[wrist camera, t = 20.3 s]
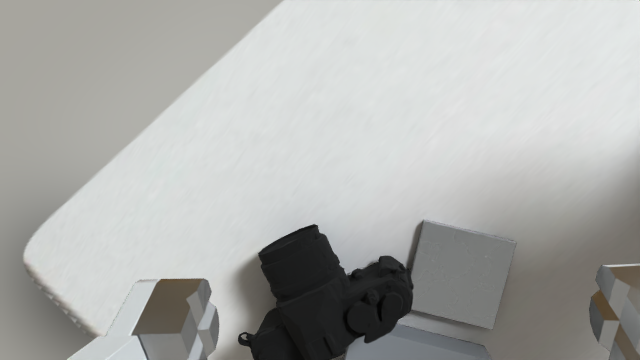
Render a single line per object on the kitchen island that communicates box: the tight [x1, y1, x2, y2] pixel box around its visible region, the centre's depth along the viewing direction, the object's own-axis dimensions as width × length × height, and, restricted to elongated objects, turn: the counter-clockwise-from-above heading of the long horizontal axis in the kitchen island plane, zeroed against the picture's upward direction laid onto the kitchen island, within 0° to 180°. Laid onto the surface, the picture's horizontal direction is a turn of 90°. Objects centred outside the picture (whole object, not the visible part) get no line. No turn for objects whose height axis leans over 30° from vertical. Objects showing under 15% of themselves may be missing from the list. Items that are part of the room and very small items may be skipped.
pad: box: [410, 220, 516, 330], centre depth 45 cm, size 8×8×1 cm
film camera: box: [238, 224, 414, 360], centre depth 42 cm, size 15×10×9 cm, turn 115°
